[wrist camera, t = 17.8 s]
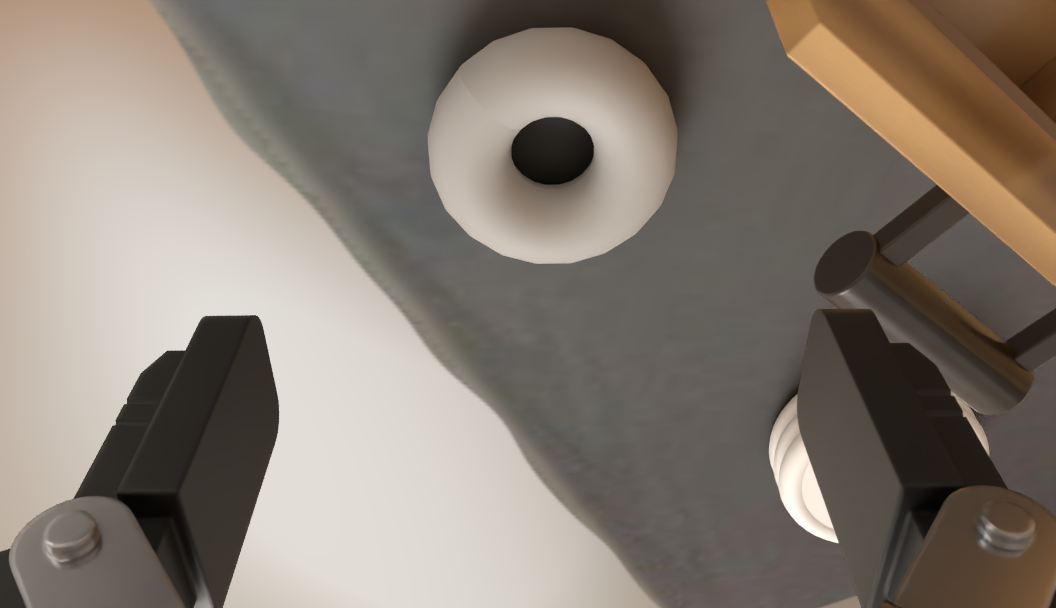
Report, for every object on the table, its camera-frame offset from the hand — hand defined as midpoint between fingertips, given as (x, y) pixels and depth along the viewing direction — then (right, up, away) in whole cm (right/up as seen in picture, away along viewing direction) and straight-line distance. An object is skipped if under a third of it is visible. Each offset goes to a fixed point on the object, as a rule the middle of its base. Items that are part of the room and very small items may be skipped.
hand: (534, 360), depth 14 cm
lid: (+12, +6, +11) cm, 17 cm away
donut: (+1, +8, +25) cm, 27 cm away
